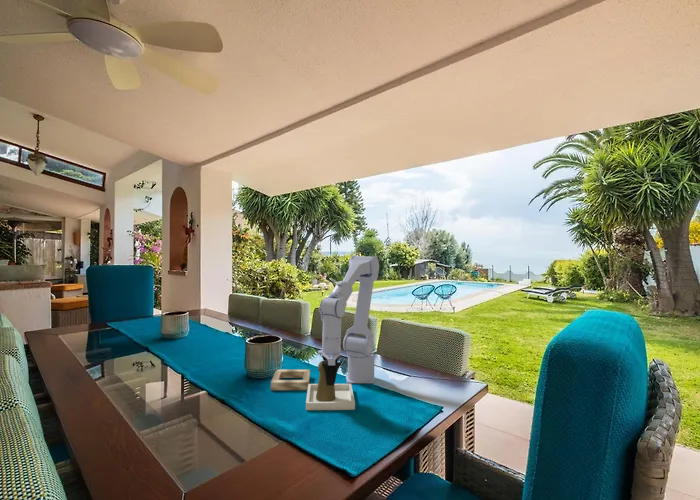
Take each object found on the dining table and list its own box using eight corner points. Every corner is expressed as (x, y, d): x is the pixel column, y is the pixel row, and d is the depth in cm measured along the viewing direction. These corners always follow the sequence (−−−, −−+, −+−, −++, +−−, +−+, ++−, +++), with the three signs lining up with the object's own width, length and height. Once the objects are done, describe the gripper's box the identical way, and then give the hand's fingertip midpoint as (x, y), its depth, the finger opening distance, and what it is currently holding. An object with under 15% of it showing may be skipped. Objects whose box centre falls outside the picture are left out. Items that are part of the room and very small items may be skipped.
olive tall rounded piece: (330, 403, 99) (331, 365, 99) (312, 399, 101) (313, 362, 101) (338, 395, 104) (339, 360, 105) (321, 392, 106) (322, 357, 107)
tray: (351, 389, 110) (351, 383, 110) (354, 409, 96) (355, 402, 96) (308, 390, 109) (308, 383, 109) (305, 410, 95) (305, 403, 95)
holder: (309, 376, 121) (310, 369, 121) (308, 390, 109) (308, 382, 109) (276, 376, 120) (276, 369, 120) (270, 390, 108) (270, 382, 108)
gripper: (318, 331, 110) (317, 372, 110) (318, 343, 96) (316, 391, 95) (340, 331, 111) (339, 372, 110) (342, 343, 96) (341, 391, 96)
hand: (330, 381), depth 103 cm, fingers closed on olive tall rounded piece, 5 cm apart
